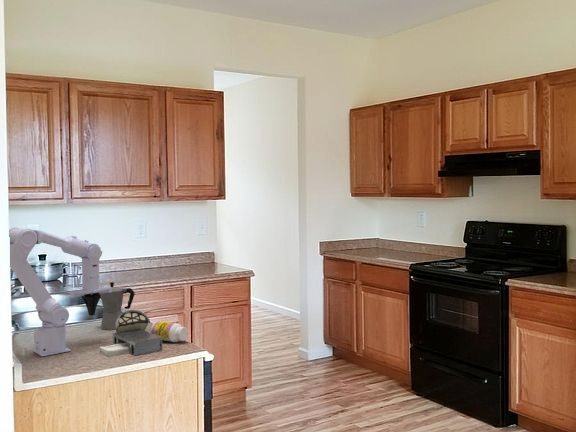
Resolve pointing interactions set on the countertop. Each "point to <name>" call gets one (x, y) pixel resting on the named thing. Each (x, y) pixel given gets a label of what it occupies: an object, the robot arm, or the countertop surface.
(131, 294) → the coffeepot
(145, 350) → the shelf
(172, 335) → the supplement bottle
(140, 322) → the food container
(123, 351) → the tray
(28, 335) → the countertop surface
